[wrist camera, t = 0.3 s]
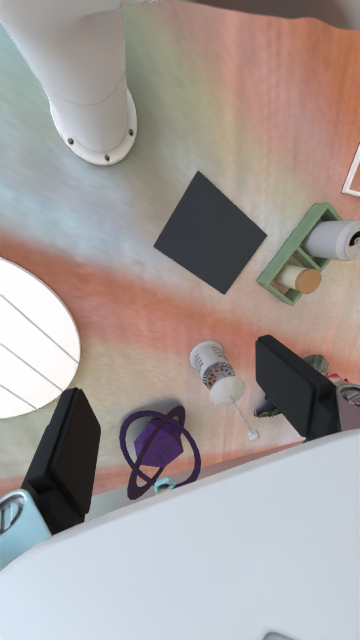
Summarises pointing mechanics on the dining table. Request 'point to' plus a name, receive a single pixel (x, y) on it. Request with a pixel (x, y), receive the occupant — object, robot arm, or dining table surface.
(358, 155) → the photo frame
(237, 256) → the mat
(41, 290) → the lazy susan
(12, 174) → the dining table surface
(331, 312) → the dining table surface
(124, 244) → the dining table surface
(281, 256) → the caddy
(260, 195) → the dining table surface
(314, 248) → the can
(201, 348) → the grey rod with disc
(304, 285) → the spice jar
